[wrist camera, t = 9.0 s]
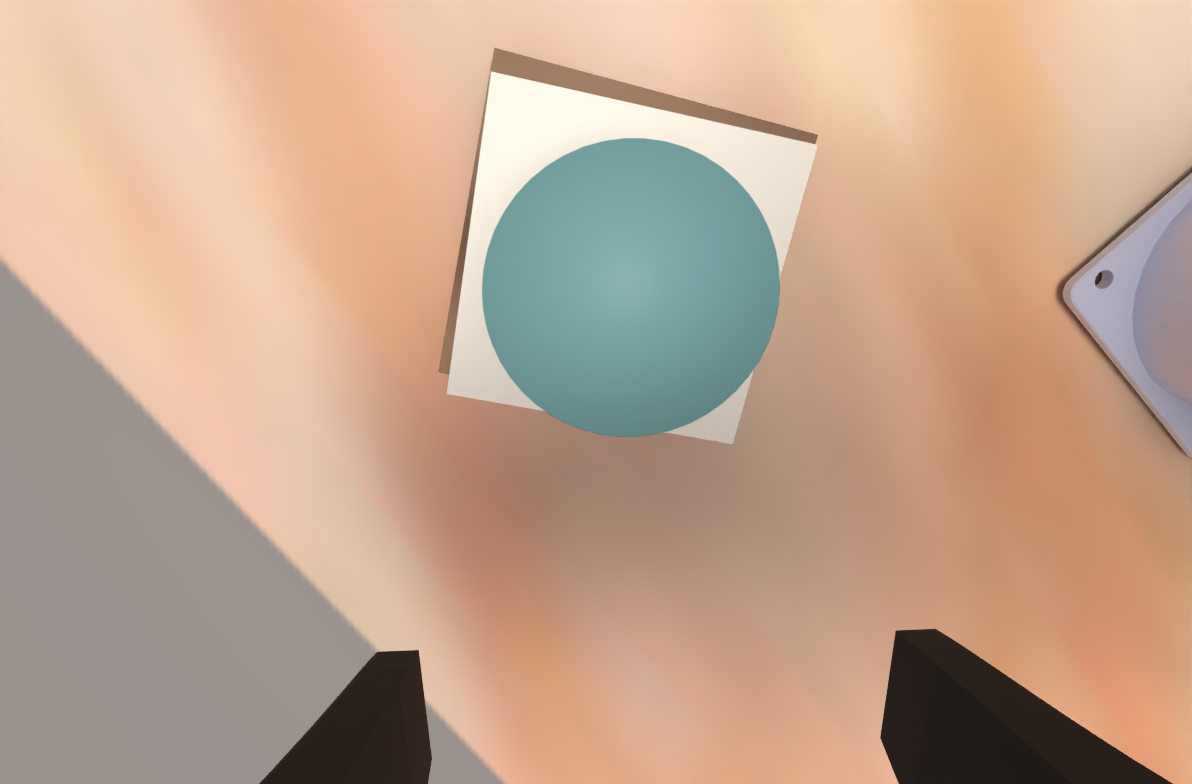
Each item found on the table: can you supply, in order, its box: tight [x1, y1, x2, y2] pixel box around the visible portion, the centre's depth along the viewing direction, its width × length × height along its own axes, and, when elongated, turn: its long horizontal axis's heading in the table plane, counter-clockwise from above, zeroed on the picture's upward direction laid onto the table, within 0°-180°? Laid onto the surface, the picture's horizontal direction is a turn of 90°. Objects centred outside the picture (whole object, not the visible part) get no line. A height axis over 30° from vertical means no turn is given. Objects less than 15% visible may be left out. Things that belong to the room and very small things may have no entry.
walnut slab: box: [439, 48, 818, 374], centre depth 18 cm, size 8×8×2 cm
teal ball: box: [482, 138, 780, 437], centre depth 12 cm, size 5×5×5 cm
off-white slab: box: [447, 72, 818, 444], centre depth 15 cm, size 7×7×2 cm
